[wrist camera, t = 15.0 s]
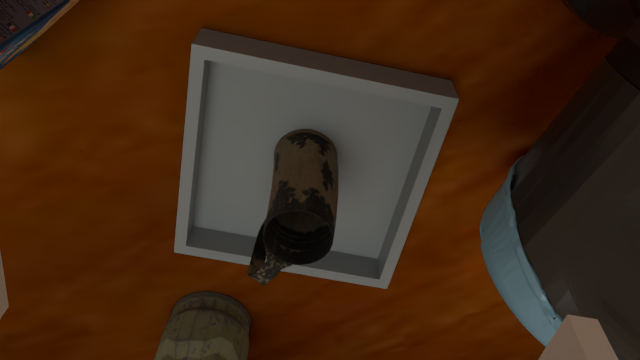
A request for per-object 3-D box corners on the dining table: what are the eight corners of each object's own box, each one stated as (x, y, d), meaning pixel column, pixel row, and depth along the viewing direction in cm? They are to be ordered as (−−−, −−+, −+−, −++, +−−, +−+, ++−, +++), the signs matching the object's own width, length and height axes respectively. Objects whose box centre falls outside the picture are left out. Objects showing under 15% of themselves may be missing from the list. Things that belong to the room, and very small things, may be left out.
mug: (303, 115, 46) (293, 199, 36) (352, 154, 48) (356, 244, 38) (245, 174, 49) (221, 266, 39) (292, 208, 51) (281, 305, 41)
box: (451, 80, 45) (459, 99, 42) (384, 263, 56) (386, 289, 53) (201, 27, 43) (191, 43, 40) (182, 228, 54) (174, 252, 51)
